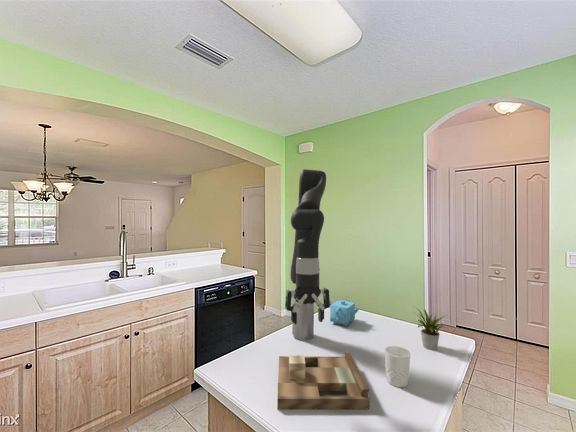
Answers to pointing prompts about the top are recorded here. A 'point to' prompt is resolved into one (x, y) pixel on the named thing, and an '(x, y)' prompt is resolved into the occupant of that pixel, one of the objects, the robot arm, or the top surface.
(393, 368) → the white cup
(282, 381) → the box
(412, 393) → the top surface
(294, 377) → the birch block
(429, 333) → the house plant
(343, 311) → the teapot
